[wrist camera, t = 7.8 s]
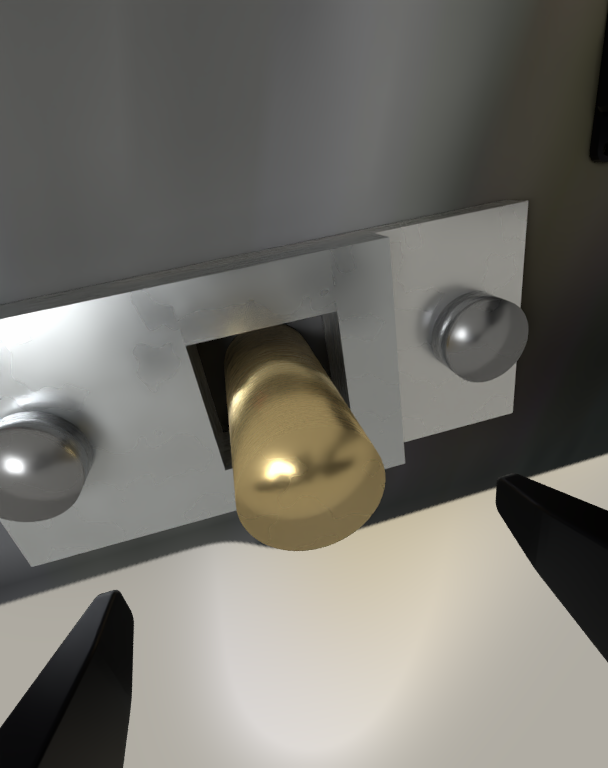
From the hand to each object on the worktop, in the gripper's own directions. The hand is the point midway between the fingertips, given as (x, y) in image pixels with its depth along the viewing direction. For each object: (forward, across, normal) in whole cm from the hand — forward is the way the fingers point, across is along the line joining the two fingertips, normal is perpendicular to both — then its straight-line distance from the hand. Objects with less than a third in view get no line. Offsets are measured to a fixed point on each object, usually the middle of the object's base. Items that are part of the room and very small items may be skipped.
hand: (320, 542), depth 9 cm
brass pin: (+10, 0, 0) cm, 11 cm away
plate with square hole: (+10, 0, 0) cm, 11 cm away
